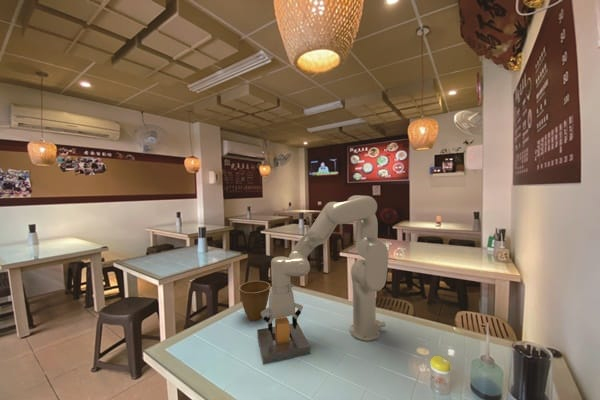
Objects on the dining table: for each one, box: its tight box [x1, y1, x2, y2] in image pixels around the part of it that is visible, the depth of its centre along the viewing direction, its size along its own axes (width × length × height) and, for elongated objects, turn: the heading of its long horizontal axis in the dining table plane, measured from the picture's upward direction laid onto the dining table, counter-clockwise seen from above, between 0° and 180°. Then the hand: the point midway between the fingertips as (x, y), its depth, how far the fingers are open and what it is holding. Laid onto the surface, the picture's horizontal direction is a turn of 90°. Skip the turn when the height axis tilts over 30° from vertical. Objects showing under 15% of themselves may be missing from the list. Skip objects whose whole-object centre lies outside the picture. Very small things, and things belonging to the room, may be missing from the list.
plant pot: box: [238, 280, 271, 322], centre depth 122 cm, size 15×15×16 cm
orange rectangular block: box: [274, 316, 291, 345], centre depth 101 cm, size 5×5×10 cm
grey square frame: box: [256, 322, 311, 365], centre depth 101 cm, size 18×18×3 cm
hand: (282, 329), depth 101 cm, fingers open, 9 cm apart
